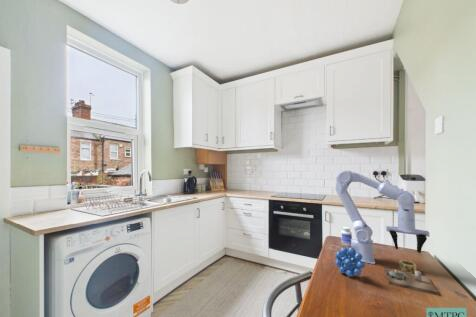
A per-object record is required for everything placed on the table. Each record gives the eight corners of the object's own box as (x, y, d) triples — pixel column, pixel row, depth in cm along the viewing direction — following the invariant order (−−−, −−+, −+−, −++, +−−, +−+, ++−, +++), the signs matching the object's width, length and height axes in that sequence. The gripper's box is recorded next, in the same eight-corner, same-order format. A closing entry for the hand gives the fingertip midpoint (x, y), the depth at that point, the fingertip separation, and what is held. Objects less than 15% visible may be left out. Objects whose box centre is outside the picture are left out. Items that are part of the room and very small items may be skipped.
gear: (401, 271, 86) (401, 264, 87) (398, 265, 93) (397, 258, 93) (418, 275, 84) (418, 268, 84) (414, 268, 90) (413, 261, 90)
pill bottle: (353, 246, 115) (353, 229, 115) (343, 245, 116) (342, 228, 116) (350, 243, 120) (349, 226, 120) (340, 242, 121) (340, 226, 122)
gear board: (388, 283, 77) (388, 271, 78) (384, 270, 88) (384, 259, 88) (438, 295, 71) (437, 282, 71) (427, 279, 81) (426, 267, 81)
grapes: (369, 279, 80) (368, 248, 81) (362, 285, 76) (361, 252, 77) (339, 267, 90) (339, 240, 90) (332, 272, 85) (331, 243, 86)
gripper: (387, 218, 89) (388, 250, 89) (431, 223, 82) (432, 257, 82) (385, 215, 96) (386, 244, 95) (425, 219, 88) (427, 251, 88)
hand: (407, 250), depth 89 cm, fingers open, 7 cm apart
